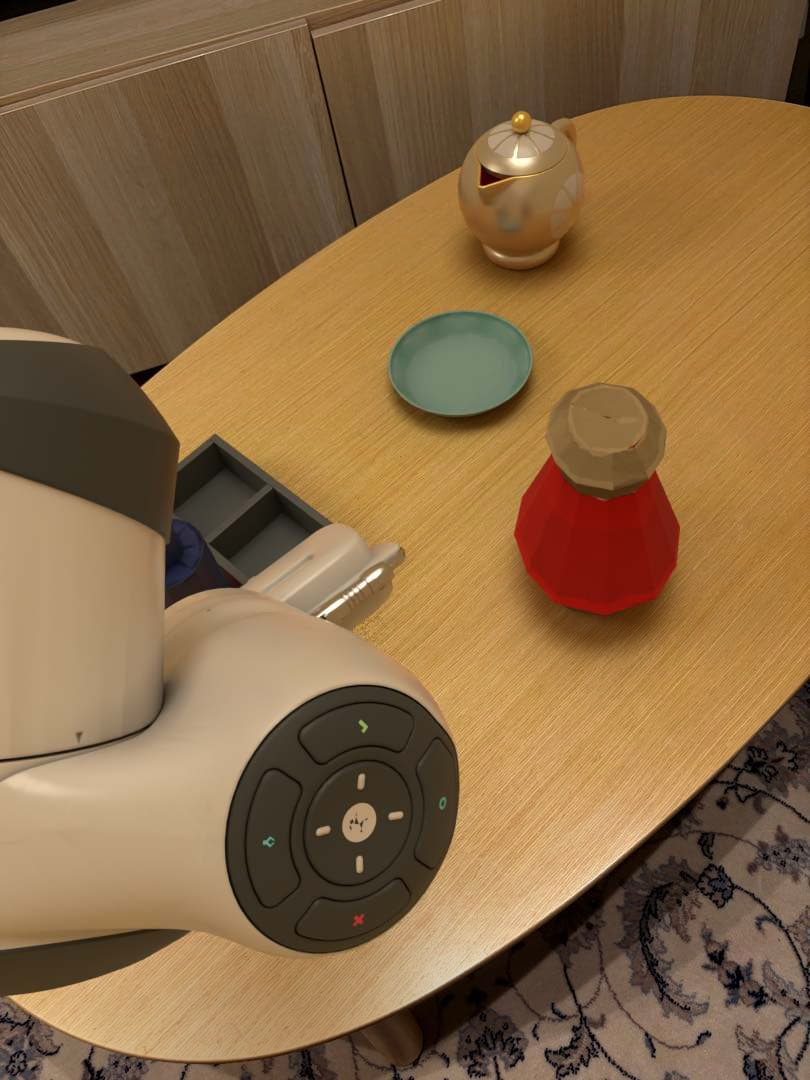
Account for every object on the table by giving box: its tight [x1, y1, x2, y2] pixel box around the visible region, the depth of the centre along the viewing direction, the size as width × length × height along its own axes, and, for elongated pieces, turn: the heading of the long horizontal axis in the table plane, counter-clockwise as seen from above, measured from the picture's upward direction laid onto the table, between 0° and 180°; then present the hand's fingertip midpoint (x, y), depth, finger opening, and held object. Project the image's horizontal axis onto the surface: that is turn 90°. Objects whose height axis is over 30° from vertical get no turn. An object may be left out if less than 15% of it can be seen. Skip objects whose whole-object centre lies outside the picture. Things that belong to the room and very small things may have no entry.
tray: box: [172, 433, 334, 588], centre depth 78 cm, size 18×18×5 cm
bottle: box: [513, 381, 681, 616], centre depth 68 cm, size 16×14×20 cm
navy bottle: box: [165, 519, 231, 610], centre depth 70 cm, size 6×6×16 cm
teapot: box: [457, 110, 586, 271], centre depth 94 cm, size 18×14×16 cm
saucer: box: [387, 309, 534, 418], centre depth 89 cm, size 15×15×3 cm
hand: (184, 644), depth 49 cm, fingers open, 8 cm apart
